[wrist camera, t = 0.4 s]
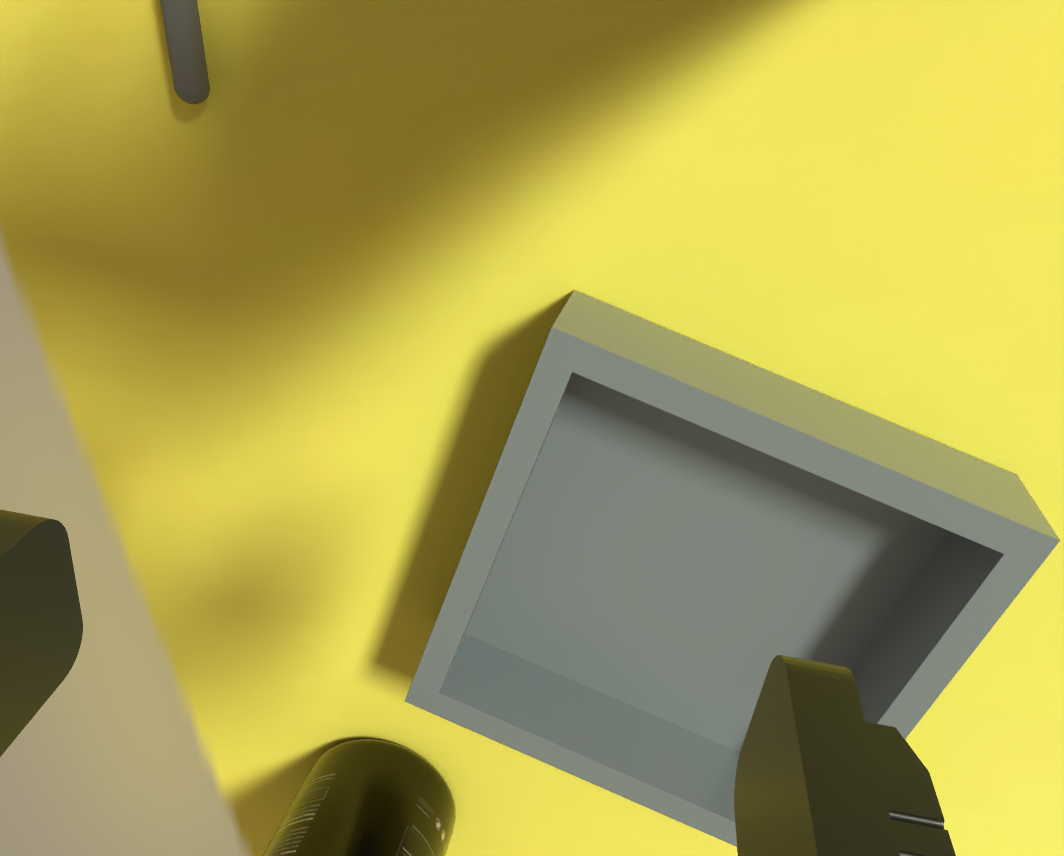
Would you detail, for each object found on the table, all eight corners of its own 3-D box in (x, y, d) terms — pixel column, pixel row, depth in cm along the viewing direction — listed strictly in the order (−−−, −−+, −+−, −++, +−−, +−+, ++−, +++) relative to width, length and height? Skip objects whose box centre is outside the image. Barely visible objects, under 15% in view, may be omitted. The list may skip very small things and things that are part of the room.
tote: (574, 289, 28) (551, 327, 24) (1017, 475, 28) (1060, 540, 24) (438, 632, 35) (404, 701, 31) (792, 786, 34) (799, 874, 31)
